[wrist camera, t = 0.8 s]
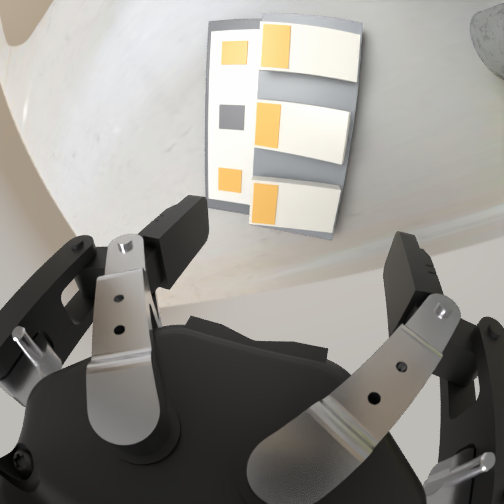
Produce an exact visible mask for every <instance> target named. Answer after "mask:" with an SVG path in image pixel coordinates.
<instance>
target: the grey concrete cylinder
mask: <svg viewBox="0 0 504 504" xmlns="http://www.w3.org/2000/svg"><path fill="white" fill-rule="evenodd" d="M470 33H471V38H472V41H473V44H474V47H475V49H476V51H477V53H478V55H479V56H480V58H481V59H482V61H483V62H484V64H485V65H486V66H487V67H488V68H489V69H490V70H491V71H492V72H493V73H494V74H495V75H497V76H498V77H500V78H502V79H504V3H502V4H499V5H497V6H494V7H492V8H489V9H487V10H485V11H482V12H478V13H476V14H475V15H474V16H473V18H472V20H471V23H470Z"/></svg>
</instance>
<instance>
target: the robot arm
mask: <svg viewBox="0 0 504 504" xmlns="http://www.w3.org/2000/svg"><path fill="white" fill-rule="evenodd" d="M208 234H209V221H208V204H207V199H206V198H205V197H201V196H193V195H188V196H187V197H185V198H184V199H183V200H182V201H181V202H180V203H178V204H176V205H174V206H172V207H170V208H167V209H166V210H165V211H164V212H162V213H161V214H160V216H158V217H157V218H155V219H154V221H152V222H151V223H150V224H149V225H147V226H146V227H145V228H144V229H143V230H142V231H141V232H140V233H138V234H126V235H122V236H119V237H117V238H115V239H114V240H112V241H111V242H110V244H109V245H108V247H95V244H94V241H93V238H92V237H91V236H88V235H82V236H78V237H75V238H73V239H71V240H70V241H69V242H67V243H66V244H65V245H64V246H63V247H62V248H60V249H59V250H58V251H57V252H56V253H55V254H54V255H53V256H52V257H51V258H50V259H49V260H48V261H47V262H46V263H44V265H42V267H40V268H39V269H38V270H37V271H36V272H35V273H34V274H33V275H32V276H31V277H30V279H28V280H27V282H26V283H25V284H24V285H23V286H22V287H21V288H20V289H19V290H18V291H17V292H16V293H15V294H14V296H13V297H12V298H11V299H10V300H9V301H8V302H7V303H6V305H5V306H4V307H3V308H2V309H1V310H0V387H1V388H2V389H3V390H4V391H5V392H6V393H7V394H8V395H10V396H12V397H13V398H14V399H15V400H16V401H18V402H19V403H20V404H21V405H22V406H24V407H26V409H25V417H24V422H23V427H22V431H21V434H20V437H19V441H18V443H17V445H16V446H15V448H14V449H13V450H12V451H11V452H10V453H9V454H7V455H5V456H3V457H2V458H0V504H504V328H503V327H502V325H501V324H500V323H499V322H498V321H497V320H495V319H493V318H491V317H483V318H482V319H481V320H480V321H479V323H478V324H477V326H476V325H474V324H472V323H470V322H467V321H465V320H463V319H461V313H460V310H459V308H458V306H457V305H456V303H455V302H454V301H453V300H451V299H450V298H448V297H447V296H445V295H443V291H442V288H441V285H440V282H439V279H438V277H437V275H436V271H435V268H434V265H433V263H432V260H431V258H430V256H429V255H428V254H427V253H426V252H425V250H424V249H420V248H419V245H418V242H417V240H416V237H415V235H412V234H408V233H404V232H399V231H397V232H396V234H395V236H394V239H393V242H392V245H391V248H390V251H389V254H388V257H387V260H386V263H385V266H384V273H383V279H384V287H385V296H386V305H387V316H388V329H389V338H388V340H387V341H386V342H385V343H384V344H383V345H382V346H381V347H380V348H379V349H378V350H377V351H376V352H375V353H374V354H373V355H372V356H371V357H370V358H369V359H368V360H367V361H366V362H365V363H364V364H363V365H362V366H361V367H360V368H359V369H358V370H356V371H355V372H354V373H353V374H352V375H350V374H349V373H348V372H347V371H346V370H345V369H343V368H342V367H341V366H339V365H337V364H335V363H334V362H332V361H330V360H328V359H327V353H328V348H323V347H317V346H312V345H307V344H302V343H297V342H280V341H279V342H276V341H254V340H252V339H249V338H247V337H245V336H243V335H241V334H239V333H238V332H235V331H234V330H232V329H230V328H228V327H226V326H224V325H222V324H218V323H214V322H211V321H208V320H204V319H201V318H197V317H194V316H190V318H189V320H188V322H187V323H186V325H170V326H164V327H162V323H161V317H160V312H159V305H158V299H157V294H156V289H157V288H158V287H162V288H165V289H169V290H170V288H171V287H172V286H173V284H174V283H175V282H176V280H177V279H178V278H179V276H180V275H181V274H182V272H183V271H184V270H185V268H186V267H187V266H188V265H189V263H190V262H191V261H192V259H193V258H194V257H195V255H196V254H197V253H198V252H199V250H200V249H201V248H202V246H203V245H204V244H205V242H206V241H207V238H208ZM73 279H75V281H76V283H77V286H78V288H79V291H78V292H77V293H76V294H75V295H74V296H73V298H72V299H71V300H70V301H69V302H68V304H67V305H66V306H65V307H64V306H63V304H62V302H61V294H62V291H63V290H64V289H65V288H66V287H67V285H68V284H69V283H70V282H71V281H72V280H73ZM92 322H93V335H92V357H89V358H87V359H85V360H82V361H80V362H78V363H75V364H73V365H70V366H68V367H66V368H63V369H61V368H62V365H63V364H64V362H65V361H66V359H67V358H68V356H69V355H70V353H71V352H72V350H73V349H74V347H75V346H76V345H77V343H78V342H79V340H80V339H81V337H82V336H83V335H84V333H85V332H86V331H87V329H88V328H89V327H90V325H91V324H92ZM431 374H434V375H436V376H439V377H440V393H441V426H440V427H441V428H440V446H439V459H438V464H436V466H434V467H433V469H432V470H431V472H430V474H429V476H428V479H427V480H426V481H425V482H424V485H423V486H422V484H421V482H420V480H419V479H418V477H417V476H416V474H415V472H414V471H413V469H412V467H411V466H410V464H409V463H408V461H407V459H406V458H405V456H404V455H403V453H402V451H401V450H400V448H399V447H398V445H397V443H396V442H395V440H394V439H393V437H392V435H391V434H390V432H389V430H390V429H391V428H392V427H393V426H394V424H395V423H396V422H397V421H398V420H399V418H400V417H401V415H403V413H404V412H405V411H406V409H407V408H408V407H409V406H410V404H411V403H412V402H413V400H414V399H415V397H416V396H417V395H418V393H419V392H420V390H421V389H422V388H423V386H424V385H425V383H426V382H427V380H428V378H429V377H430V376H431ZM477 376H478V378H479V385H480V392H479V396H478V399H477V401H476V396H475V387H474V379H475V378H476V377H477Z"/></svg>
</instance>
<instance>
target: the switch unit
mask: <svg viewBox="0 0 504 504" xmlns="http://www.w3.org/2000/svg"><path fill="white" fill-rule="evenodd" d="M260 21H264V22H281V23H293V24H302V25H310V26H317V27H324V28H329V29H335V30H340V31H345V32H350V33H354V34H359V35H360V50H359V63H358V75H357V82H355V83H353V82H348V81H343V80H337V79H332V78H326V77H319V76H313V75H305V74H297V73H287V72H275V71H259V70H257V67H258V50H259V33H260ZM362 30H363V23H362V22H357V21H351V20H345V19H339V18H332V17H324V16H315V15H304V14H288V13H262V19H234V20H220V21H210V22H209V26H208V43H207V65H206V97H205V189H206V199H207V204H208V208H212V209H218V210H224V211H230V212H236V213H242V214H248V215H249V213H250V194H251V179H252V176H264V177H275V178H285V179H294V180H303V181H311V182H319V183H326V184H333V185H339V187H340V189H341V193H340V198H339V203H338V208H337V213H336V217H335V222H334V227H333V231H332V233H328V232H319V231H311V230H302V229H292V228H283V227H273V226H263V225H255V226H260V227H266V228H271V229H276V230H282V231H287V232H292V233H297V234H302V235H307V236H312V237H317V238H322V239H327V240H332V238H333V234H334V229H335V225H336V220H337V216H338V211H339V206H340V201H341V196H342V191H343V186H344V181H345V175H346V170H347V164H348V158H349V152H350V146H351V139H352V132H353V125H354V118H355V110H356V102H357V93H358V84H359V74H360V62H361V48H362ZM255 99H267V100H277V101H287V102H295V103H303V104H310V105H316V106H322V107H328V108H334V109H339V110H344V111H349V112H351V115H350V123H349V130H348V137H347V144H346V150H345V157H344V162H343V163H342V165H340V164H336V163H332V162H328V161H323V160H319V159H314V158H310V157H305V156H300V155H295V154H290V153H284V152H279V151H273V150H267V149H261V148H255V147H252V146H253V128H254V110H255ZM250 225H253V224H250Z"/></svg>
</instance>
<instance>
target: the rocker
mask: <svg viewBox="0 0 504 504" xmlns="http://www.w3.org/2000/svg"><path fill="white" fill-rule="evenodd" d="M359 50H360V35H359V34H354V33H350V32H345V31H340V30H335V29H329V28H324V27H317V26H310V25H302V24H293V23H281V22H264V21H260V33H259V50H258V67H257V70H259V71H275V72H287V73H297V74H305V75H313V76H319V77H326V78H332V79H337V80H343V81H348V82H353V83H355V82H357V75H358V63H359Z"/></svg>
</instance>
